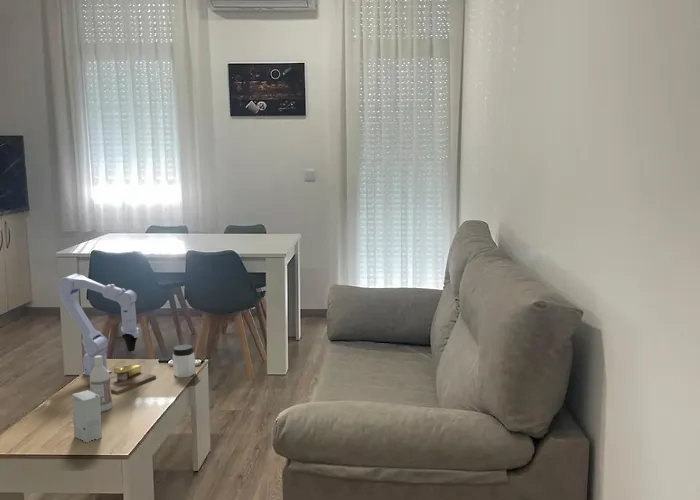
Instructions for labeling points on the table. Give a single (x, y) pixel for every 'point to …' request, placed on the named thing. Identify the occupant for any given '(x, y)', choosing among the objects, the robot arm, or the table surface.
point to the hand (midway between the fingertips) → (131, 350)
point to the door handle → (128, 370)
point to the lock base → (128, 381)
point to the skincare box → (87, 416)
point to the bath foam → (101, 383)
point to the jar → (183, 361)
